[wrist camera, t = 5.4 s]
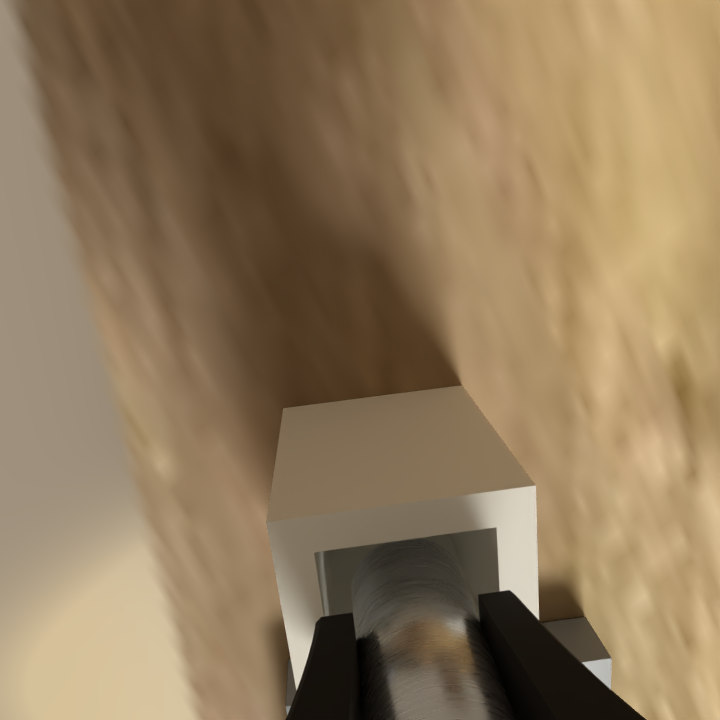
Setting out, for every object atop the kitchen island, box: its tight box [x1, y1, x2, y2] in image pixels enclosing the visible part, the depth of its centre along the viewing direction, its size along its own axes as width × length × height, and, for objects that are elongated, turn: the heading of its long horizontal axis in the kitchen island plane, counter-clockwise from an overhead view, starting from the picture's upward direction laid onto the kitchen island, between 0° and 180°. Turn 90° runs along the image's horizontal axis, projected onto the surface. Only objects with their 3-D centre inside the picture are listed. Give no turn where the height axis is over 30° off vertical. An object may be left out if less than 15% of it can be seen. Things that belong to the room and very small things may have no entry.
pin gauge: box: [351, 538, 517, 720], centre depth 10 cm, size 2×2×5 cm
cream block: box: [266, 385, 539, 691], centre depth 15 cm, size 5×5×6 cm
